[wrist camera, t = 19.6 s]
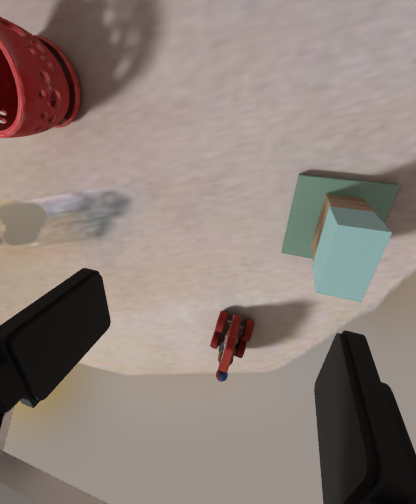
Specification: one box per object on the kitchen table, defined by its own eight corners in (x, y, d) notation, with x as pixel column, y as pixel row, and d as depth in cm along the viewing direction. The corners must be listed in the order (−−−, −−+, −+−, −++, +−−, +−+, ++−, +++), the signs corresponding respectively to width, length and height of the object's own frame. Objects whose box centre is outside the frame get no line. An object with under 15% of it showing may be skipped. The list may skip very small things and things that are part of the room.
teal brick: (329, 206, 28) (337, 224, 23) (373, 211, 27) (392, 232, 22) (312, 265, 32) (315, 292, 27) (349, 272, 31) (361, 302, 25)
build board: (298, 173, 34) (299, 175, 33) (396, 184, 31) (400, 186, 30) (281, 249, 40) (281, 252, 38) (363, 264, 37) (365, 268, 36)
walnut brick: (325, 193, 33) (331, 206, 28) (362, 198, 32) (375, 212, 27) (310, 246, 37) (313, 265, 32) (343, 251, 36) (351, 272, 30)
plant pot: (26, 119, 43) (-57, 117, 33) (17, 22, 36) (-91, -18, 26) (90, 146, 41) (24, 153, 31) (94, 51, 34) (11, 21, 24)
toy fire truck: (212, 341, 54) (196, 383, 46) (224, 300, 48) (208, 340, 39) (241, 352, 53) (231, 398, 44) (258, 312, 47) (250, 356, 38)
